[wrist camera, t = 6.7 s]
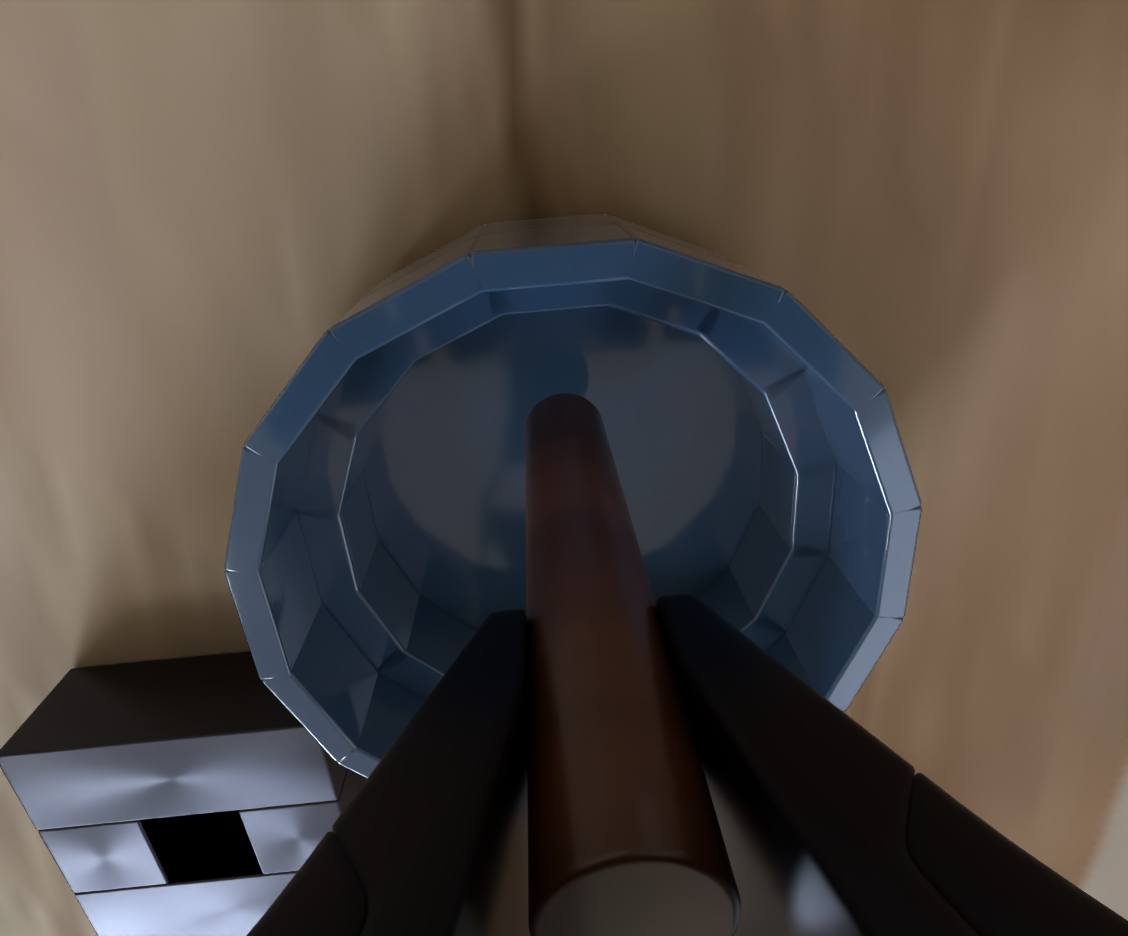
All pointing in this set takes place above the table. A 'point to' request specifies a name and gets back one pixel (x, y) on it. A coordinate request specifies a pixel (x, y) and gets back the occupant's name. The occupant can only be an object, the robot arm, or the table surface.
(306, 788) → the holder
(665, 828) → the stick
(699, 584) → the bowl
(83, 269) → the table surface
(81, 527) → the table surface
